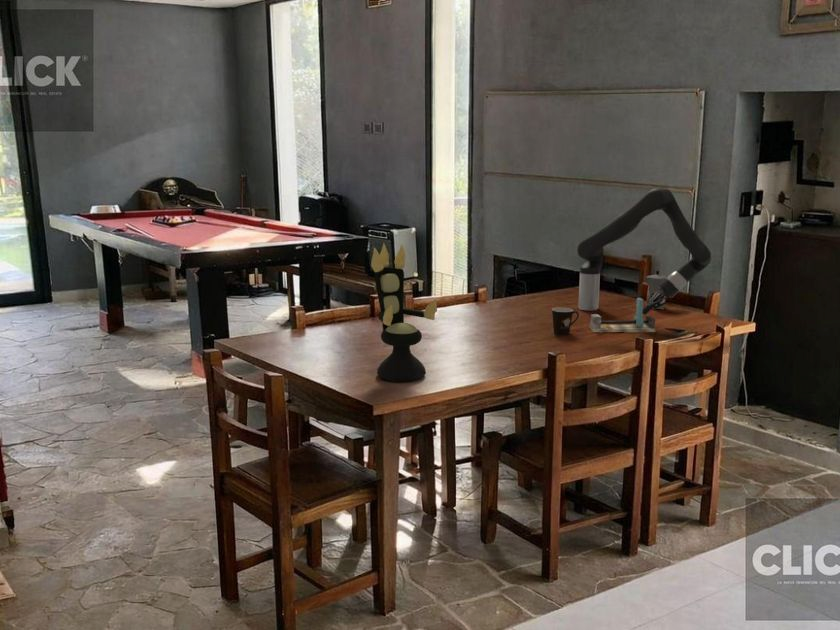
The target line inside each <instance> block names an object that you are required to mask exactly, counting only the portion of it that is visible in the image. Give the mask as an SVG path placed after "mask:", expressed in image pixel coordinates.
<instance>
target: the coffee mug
mask: <svg viewBox="0 0 840 630" xmlns="http://www.w3.org/2000/svg"><path fill="white" fill-rule="evenodd" d="M551 312H552V314H551V315H552V327H553V334H554V335H557V336H568V335H570V332H571V327H572V325H573V324H574V323H575V322H576V321H577V320H578V319H579V317H580V316H579V312H578V311H575V310H573V309H572V308H568V307H553V308H551ZM574 314H576V318H575V320H572V319H573V315H574Z"/></svg>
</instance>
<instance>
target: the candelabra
mask: <svg viewBox="0 0 840 630" xmlns="http://www.w3.org/2000/svg"><path fill="white" fill-rule="evenodd" d="M389 259H390V254H389V252H388V250H387V246H386V245H385V243H383V244H382V248H381V251H380V253H379V252H378V250H377V248H375V247H373V253H372V258H371V265H370V266H371V268H372V270H373V272H374V283H375V288H376V289H375V290H376V293H377V299H378V302H379V303H378V304H379V308H380V311H379V312H378V313H377V317H378V320H379V321H381V324H382V331H381V334H380V339H381V341H382V342H383V343H384V344H385V345H388V346H392V352H391V353H390V354H389V355H388V356H387V357H386V358H385V359H384V360H383V361H382V362H381V363H380V364H379V366H378V367H377V371H376V374H377V375H378V376H379V378H380V379H382V378H383V379H382V380H384V379H385V381H388V380H389V382H395V381H397V383H405V382H406V383H407V382H414V380H415V381H418V380H420V379H422V378H423V377H425V375H426V374H427V372H426V367H425V366H424V364H423V362H421V361H420V359H418V358H417V357H416V356H414V354H412V352H411V346H415V345H416V344H417V345H418V344H419V343H420V342H421V341H422V337H423V335H422V332H421V331H420V329H418V328H417V327H416V326H414V325H412V324H410V323H407V322H405V319H404V318H405V317H404V315H406V316H412V317H418V318H425V319H426V320H431V321H434V320H435V316H436V315H435V314H436V313H437V312H438V306H437V305H438V304H437V299H436V298H434V300H433V301H430V302H429V303H428V304H427V306H426V308H425V309H424V310H420V309H414V308H404V295H405V294H404V290H405V289H404V287H405V272H404V268H405V261H406V252H405V249H404V245H403V244H401V245H400V248H399V250H398V252H397V254H396V256H395V259H394V261H393V262H394V267H392V266H391V267H390V266H389V265H390V261H389Z"/></svg>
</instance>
